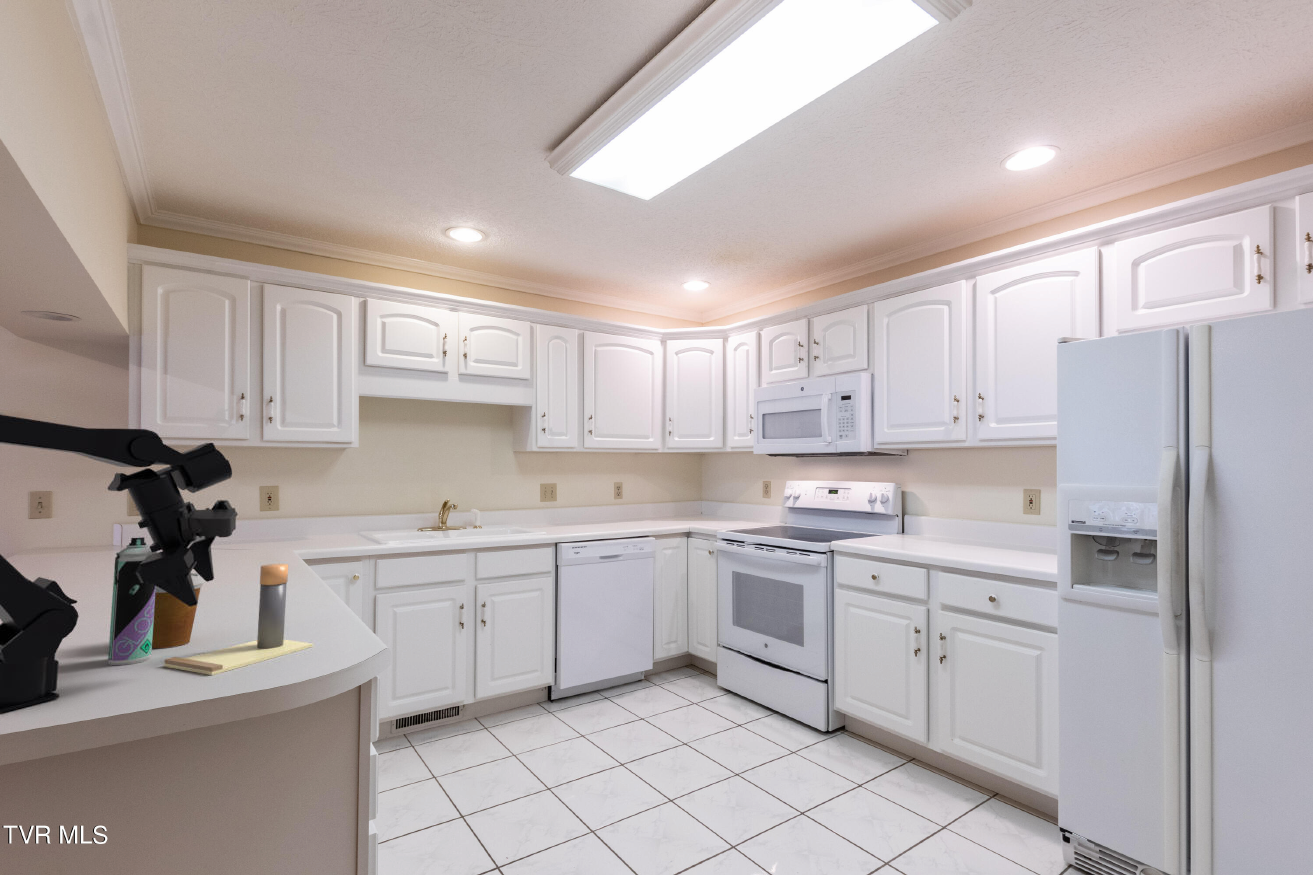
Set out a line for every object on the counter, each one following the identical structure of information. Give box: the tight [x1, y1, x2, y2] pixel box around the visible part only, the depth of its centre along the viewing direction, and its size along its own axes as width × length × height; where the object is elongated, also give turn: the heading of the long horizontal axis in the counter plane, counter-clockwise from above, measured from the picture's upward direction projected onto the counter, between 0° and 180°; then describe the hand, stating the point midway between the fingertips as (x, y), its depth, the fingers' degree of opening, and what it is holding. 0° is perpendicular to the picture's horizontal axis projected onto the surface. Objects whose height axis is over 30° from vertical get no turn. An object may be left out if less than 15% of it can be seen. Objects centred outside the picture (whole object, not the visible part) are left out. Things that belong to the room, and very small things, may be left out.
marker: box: [256, 563, 289, 649], centre depth 113 cm, size 4×4×14 cm
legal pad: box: [164, 639, 314, 676], centre depth 108 cm, size 18×11×1 cm, turn 159°
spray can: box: [107, 537, 158, 666], centre depth 105 cm, size 6×6×20 cm
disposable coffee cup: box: [152, 572, 205, 649], centre depth 115 cm, size 10×10×12 cm
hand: (202, 592), depth 104 cm, fingers open, 9 cm apart
